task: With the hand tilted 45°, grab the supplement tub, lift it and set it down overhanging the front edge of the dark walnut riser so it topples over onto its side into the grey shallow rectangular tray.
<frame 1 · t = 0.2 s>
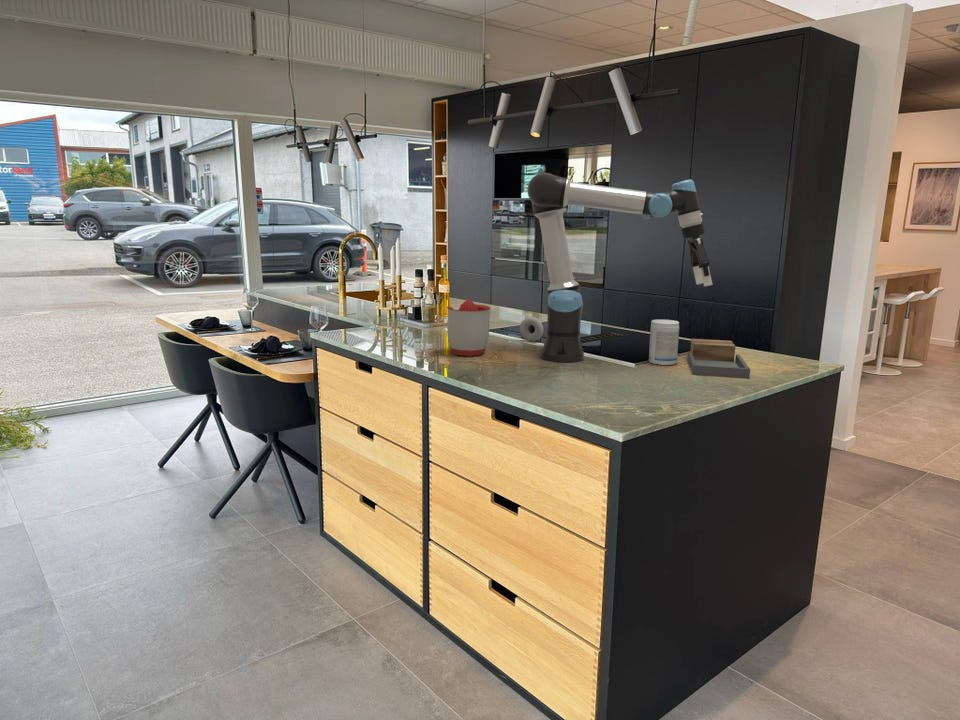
hand: (704, 284, 239), 27 cm above the table, tool tilted 15°, fingers open, 13 cm apart
donut: (531, 341, 269), on the table
grey shallow rectangular tray: (716, 368, 229), on the table
citrus juicer: (466, 353, 246), on the table
riser: (711, 358, 244), on the table
supplement tub: (662, 363, 236), on the table
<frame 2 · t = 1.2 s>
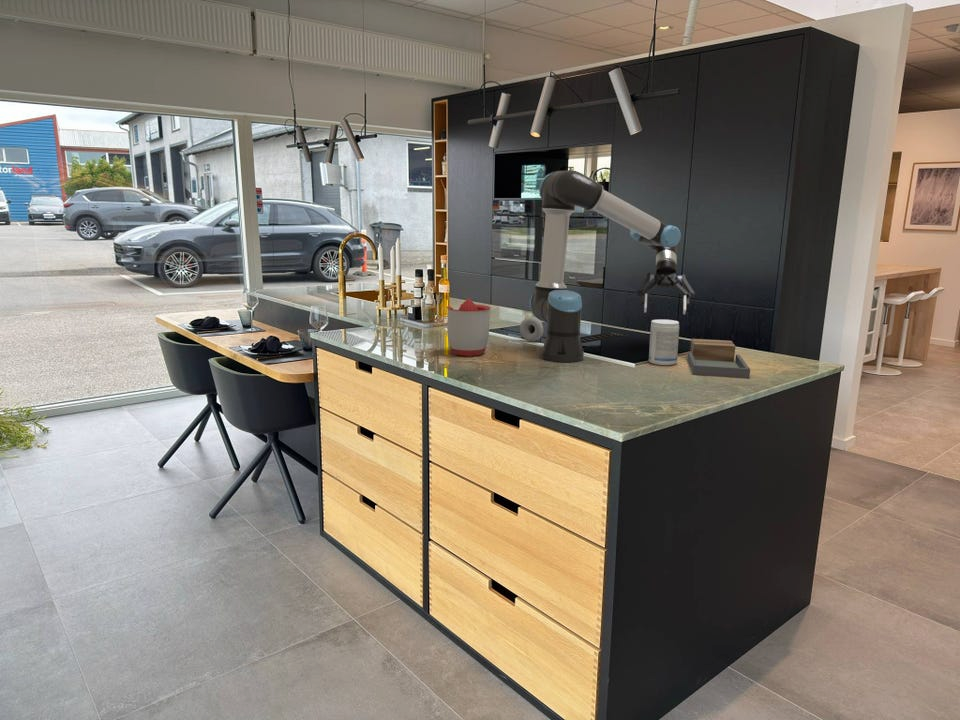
hand: (664, 311, 242), 17 cm above the table, tool tilted 45°, fingers open, 13 cm apart
nothing on the table moved.
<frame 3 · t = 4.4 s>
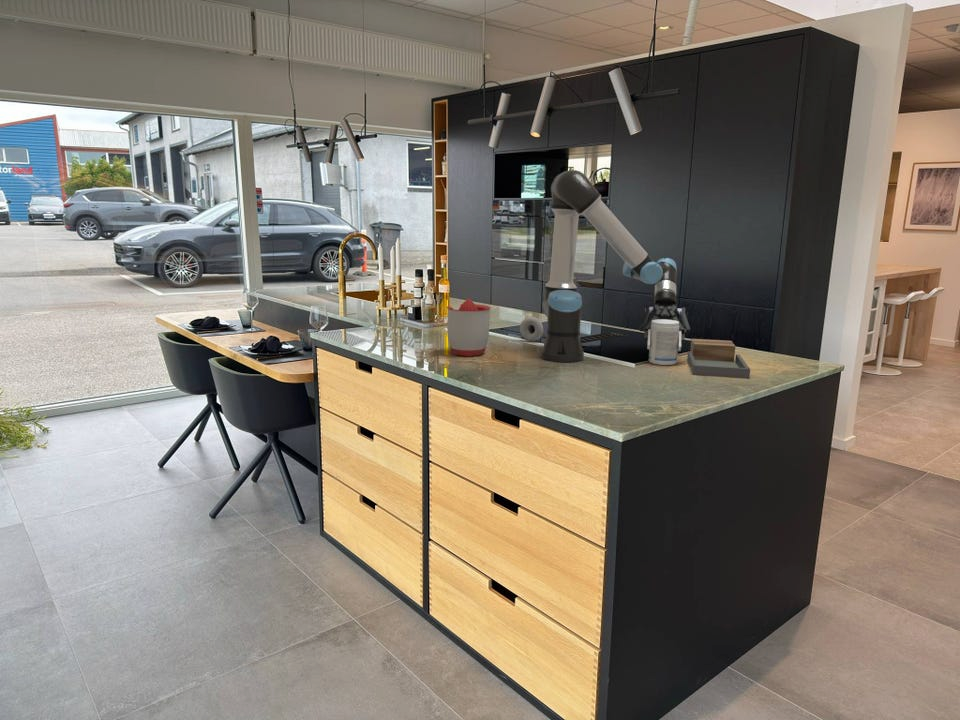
hand: (664, 347, 232), 6 cm above the table, tool tilted 45°, fingers closed on supplement tub, 9 cm apart
supplement tub: (662, 363, 236), on the table, touching gripper
everything else where it was.
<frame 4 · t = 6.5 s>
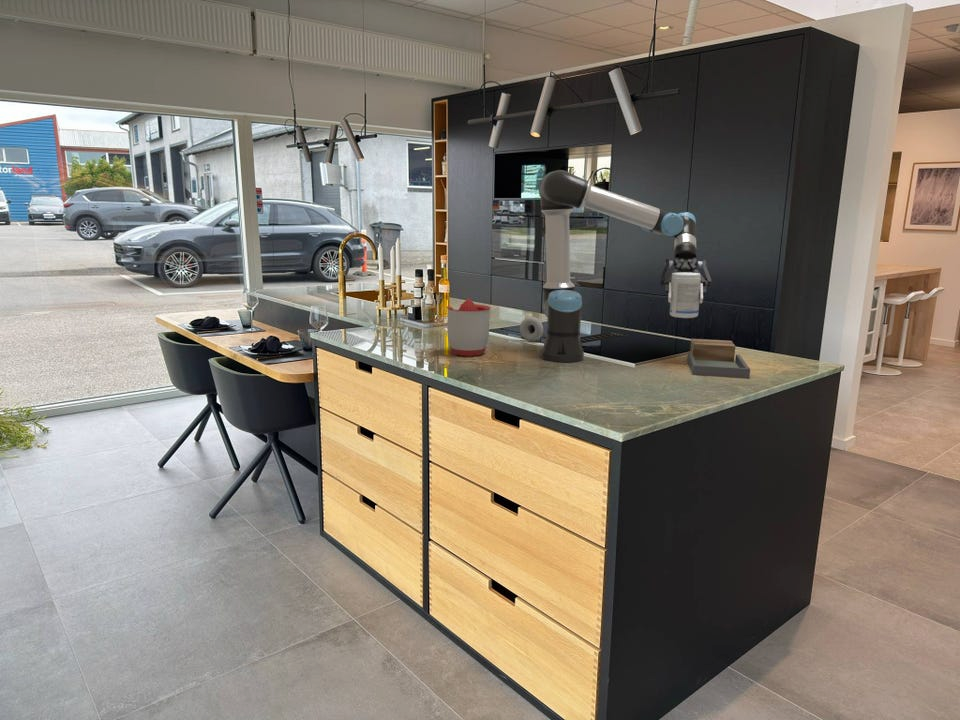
hand: (685, 300, 229), 22 cm above the table, tool tilted 45°, fingers closed on supplement tub, 9 cm apart
supplement tub: (683, 316, 233), point 16 cm above the table, touching gripper
everything else where it was.
when the fingers open (13 cm above the table, at t = 9.1 s): supplement tub drops 2 cm, resting on grey shallow rectangular tray.
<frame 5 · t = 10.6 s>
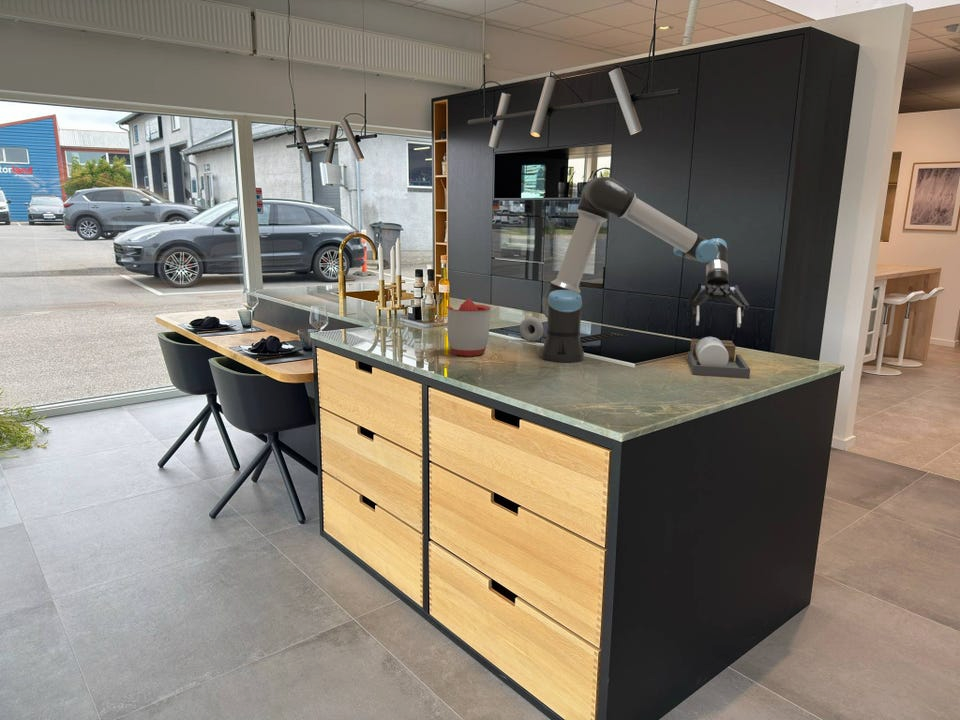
hand: (718, 324, 232), 14 cm above the table, tool tilted 45°, fingers open, 13 cm apart
supplement tub: (709, 349, 235), point 5 cm above the table, touching grey shallow rectangular tray
everything else where it was.
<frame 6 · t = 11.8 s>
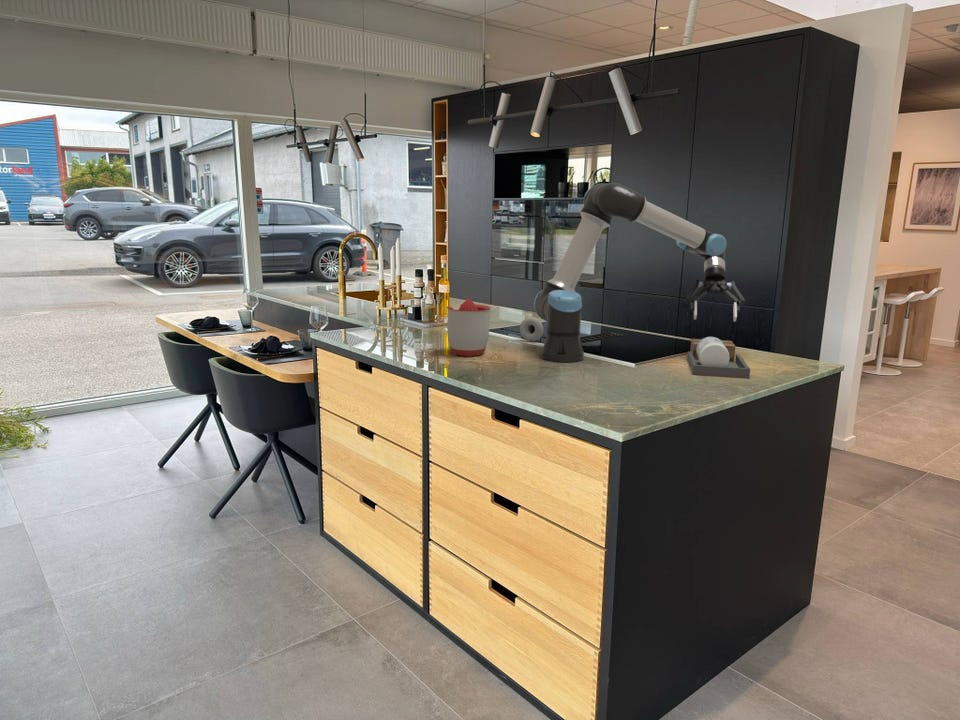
hand: (715, 318, 242), 14 cm above the table, tool tilted 45°, fingers open, 13 cm apart
nothing on the table moved.
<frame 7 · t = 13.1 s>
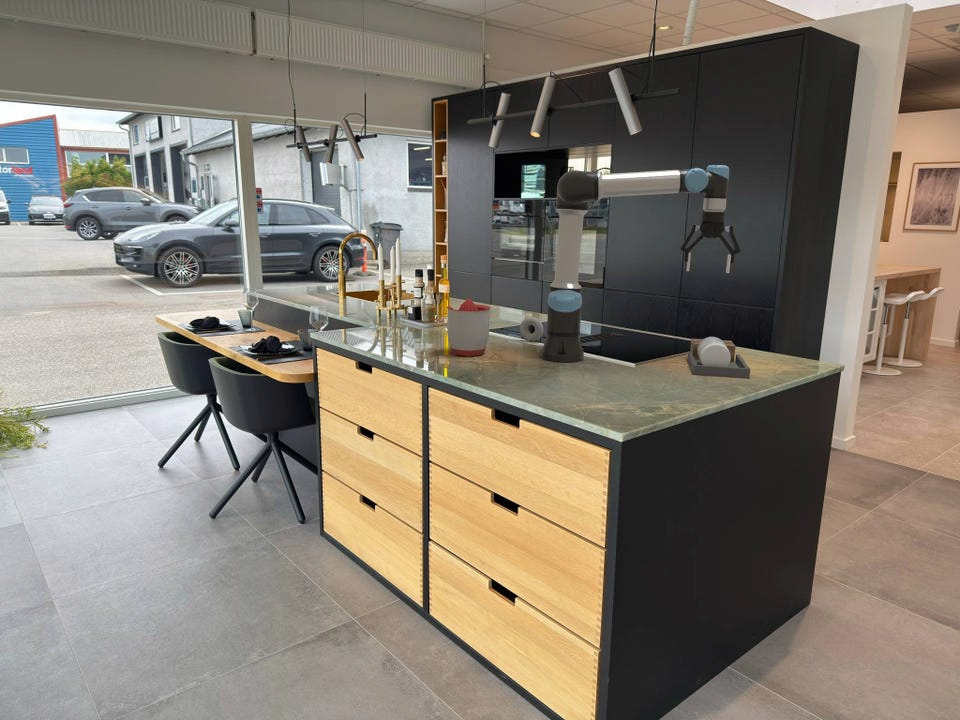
hand: (707, 272, 242), 31 cm above the table, tool pointing down, fingers open, 13 cm apart
nothing on the table moved.
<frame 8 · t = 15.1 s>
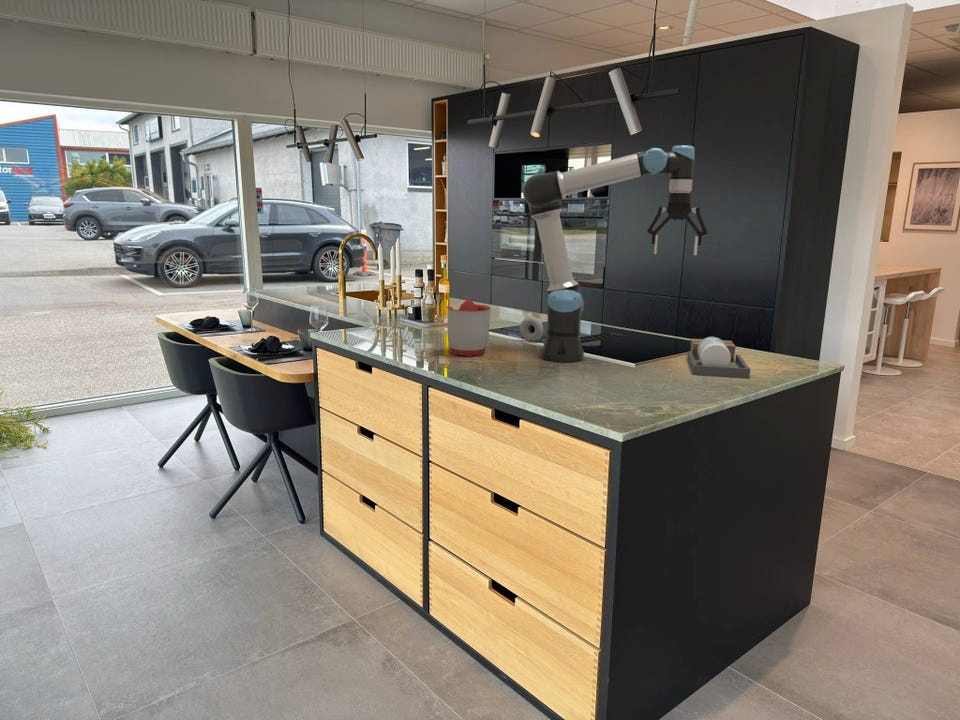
hand: (675, 254, 239), 37 cm above the table, tool pointing down, fingers open, 13 cm apart
nothing on the table moved.
at the end: supplement tub tilted 90°; supplement tub inside the target area (8.9 cm from its centre), point 5.2 cm above the table; the gripper is holding nothing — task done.
